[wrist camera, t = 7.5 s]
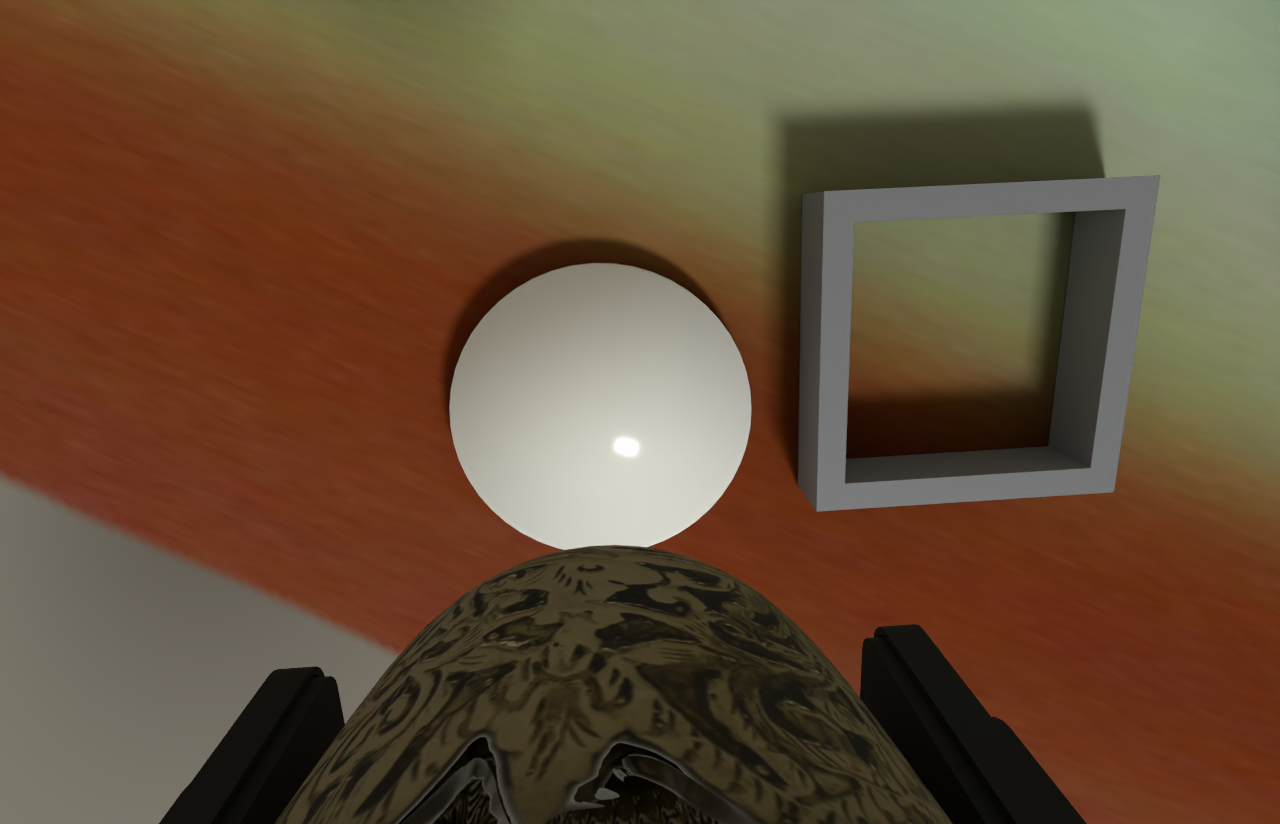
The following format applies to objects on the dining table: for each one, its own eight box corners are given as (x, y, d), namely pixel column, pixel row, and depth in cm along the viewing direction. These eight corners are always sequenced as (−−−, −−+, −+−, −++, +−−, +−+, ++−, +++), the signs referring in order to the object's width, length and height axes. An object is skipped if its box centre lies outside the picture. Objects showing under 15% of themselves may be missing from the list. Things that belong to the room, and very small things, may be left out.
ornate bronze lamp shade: (312, 561, 12) (-212, 1180, 4) (685, 343, 11) (858, 614, 4) (547, 851, 14) (473, 1639, 6) (879, 680, 13) (1264, 1332, 5)
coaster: (746, 254, 25) (750, 255, 24) (747, 535, 28) (751, 544, 27) (436, 270, 25) (431, 272, 24) (471, 553, 28) (467, 563, 27)
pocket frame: (1106, 179, 25) (1160, 175, 23) (1069, 468, 28) (1113, 492, 26) (802, 193, 25) (824, 191, 22) (797, 485, 28) (816, 511, 25)
